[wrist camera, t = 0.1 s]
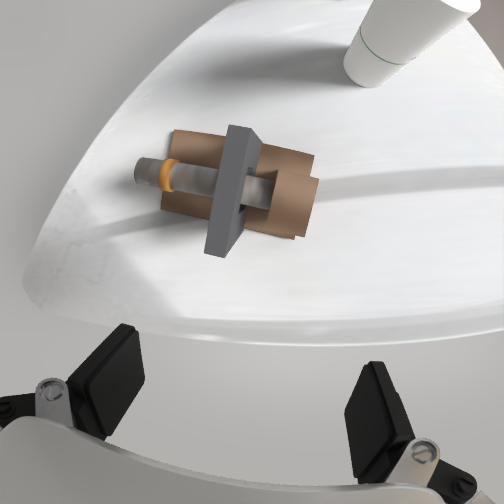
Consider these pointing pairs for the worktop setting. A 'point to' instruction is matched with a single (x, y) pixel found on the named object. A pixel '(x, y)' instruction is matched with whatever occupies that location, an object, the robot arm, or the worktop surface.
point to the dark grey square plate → (232, 189)
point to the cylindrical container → (400, 35)
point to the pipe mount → (255, 188)
